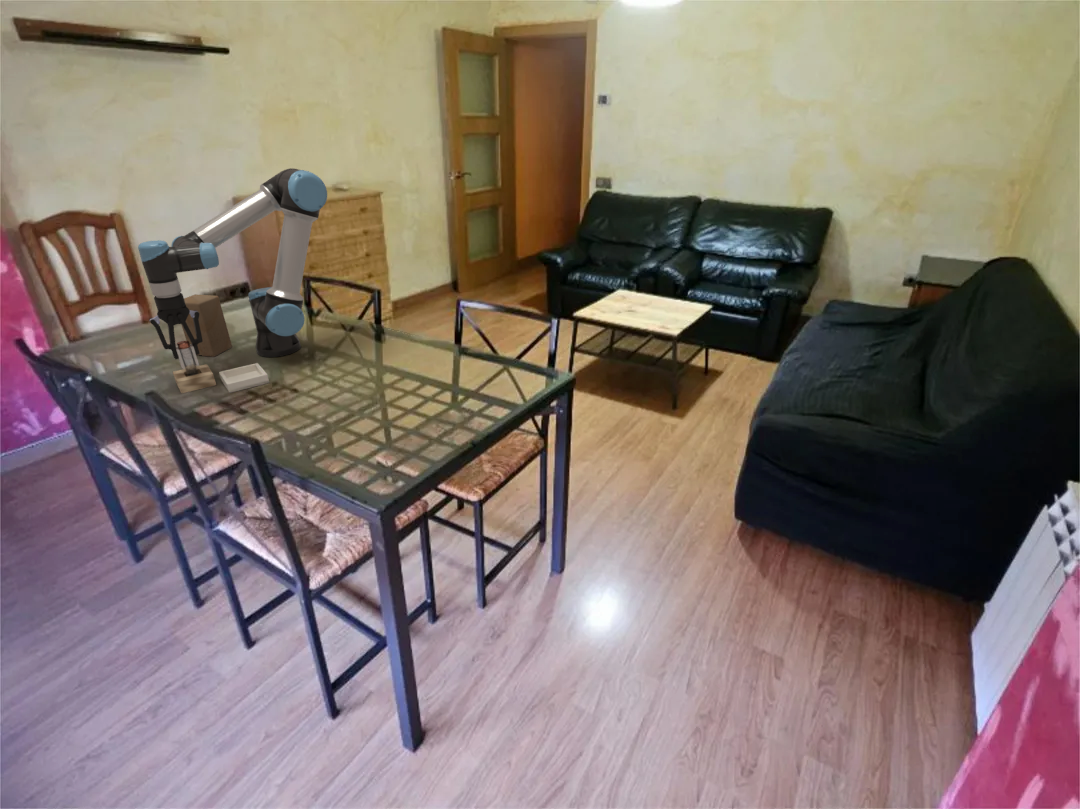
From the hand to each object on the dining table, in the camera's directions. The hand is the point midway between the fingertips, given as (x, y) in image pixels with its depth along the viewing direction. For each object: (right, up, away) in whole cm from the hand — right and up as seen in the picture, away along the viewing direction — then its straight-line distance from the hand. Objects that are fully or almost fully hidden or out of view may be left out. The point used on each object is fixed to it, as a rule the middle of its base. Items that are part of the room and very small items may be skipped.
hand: (190, 365), depth 180 cm
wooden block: (-9, +7, +28) cm, 31 cm away
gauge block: (0, -6, +3) cm, 6 cm away
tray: (+15, -5, +5) cm, 17 cm away
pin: (0, -4, +2) cm, 4 cm away
